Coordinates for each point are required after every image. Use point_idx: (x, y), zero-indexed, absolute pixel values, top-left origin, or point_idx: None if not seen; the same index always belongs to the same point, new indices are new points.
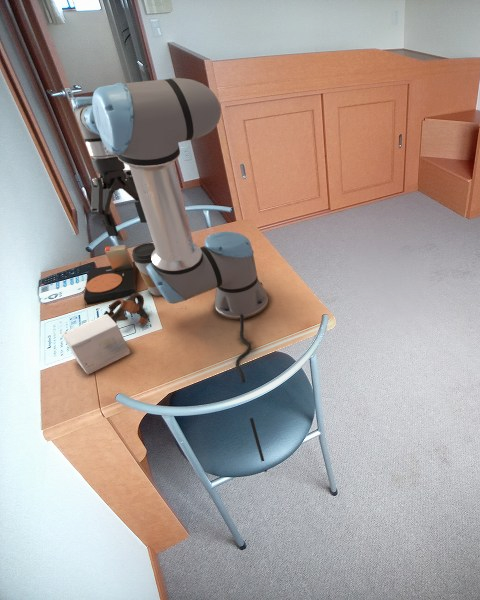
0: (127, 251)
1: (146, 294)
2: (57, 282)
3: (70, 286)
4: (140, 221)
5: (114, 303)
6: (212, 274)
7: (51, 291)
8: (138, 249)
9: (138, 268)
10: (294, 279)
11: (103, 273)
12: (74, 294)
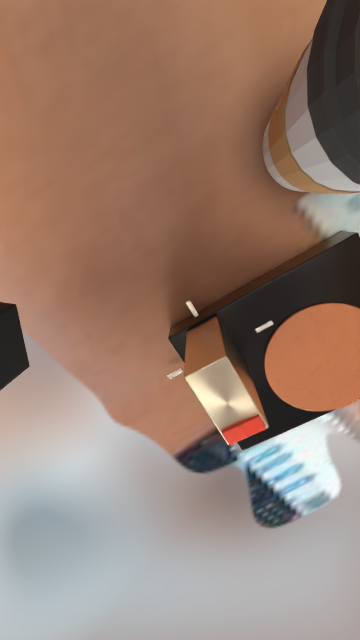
0: (198, 354)
1: (336, 193)
2: (282, 493)
3: (300, 454)
4: (23, 370)
5: None
6: None
7: (327, 483)
8: None
9: None
10: None
11: (261, 395)
12: (341, 423)
